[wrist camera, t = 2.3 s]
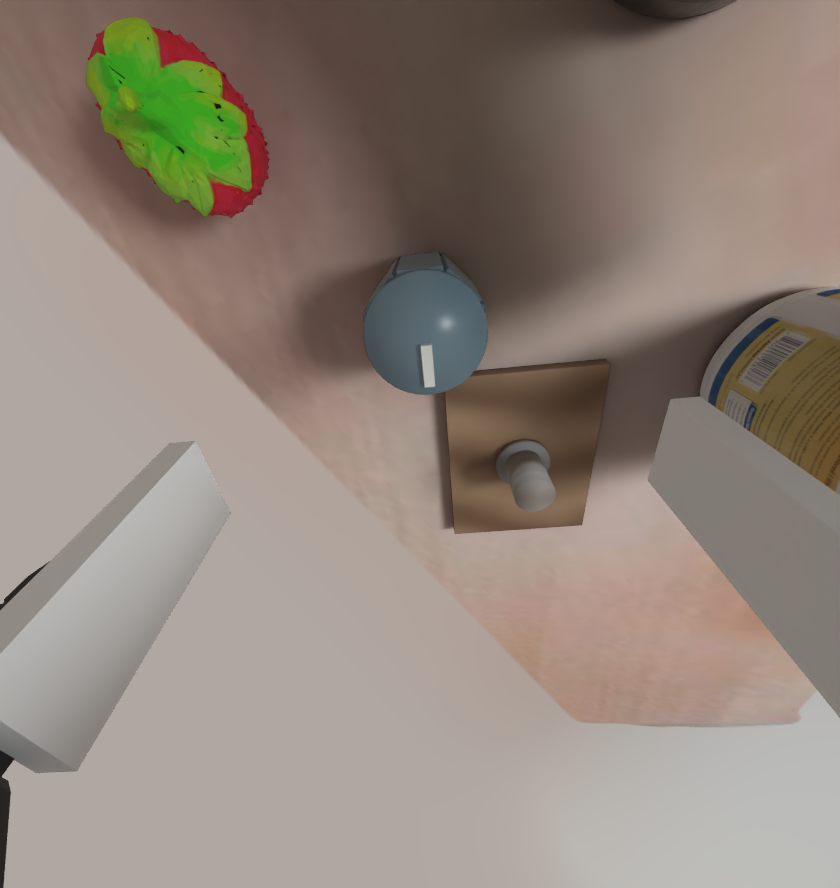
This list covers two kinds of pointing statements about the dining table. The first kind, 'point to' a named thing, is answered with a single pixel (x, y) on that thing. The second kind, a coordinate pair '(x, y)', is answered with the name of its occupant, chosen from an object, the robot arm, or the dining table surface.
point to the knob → (425, 325)
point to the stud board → (524, 444)
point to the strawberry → (177, 117)
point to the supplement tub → (786, 379)
